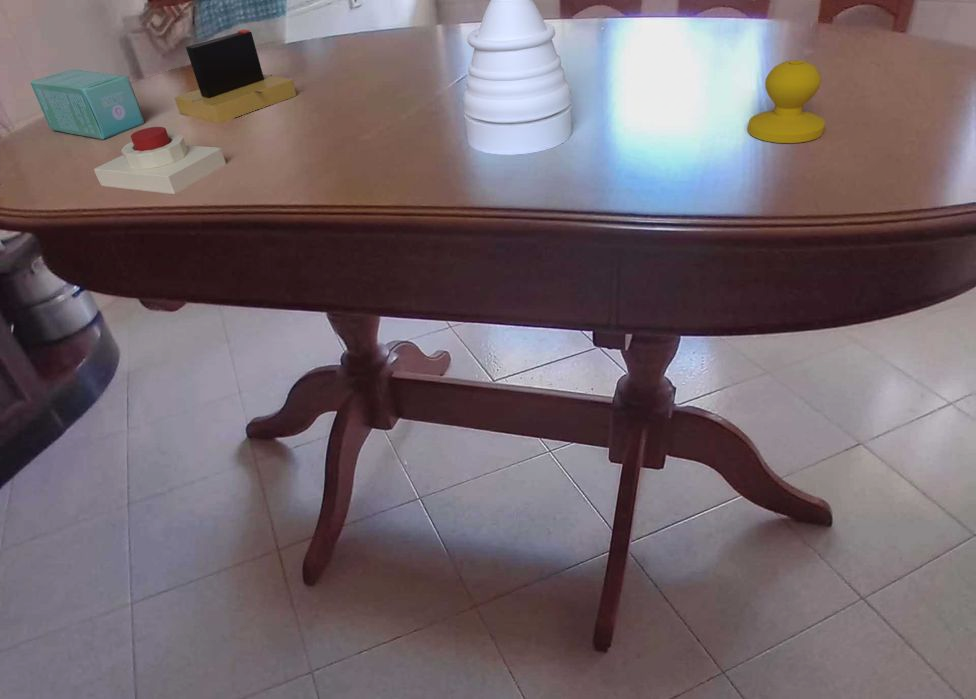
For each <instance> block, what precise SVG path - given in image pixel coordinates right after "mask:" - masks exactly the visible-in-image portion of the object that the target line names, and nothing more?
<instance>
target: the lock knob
mask: <svg viewBox="0 0 976 699" xmlns="http://www.w3.org/2000/svg"><path fill="white" fill-rule="evenodd" d="M253 36H254V35H253V32H252V31H250V30H249V29H239V30H237V32H234V33H231V34H228V35H224V36H221V37H216V38H214V39H210V40H207V41H203V42H199V43H196V44H192V45H188V46H185V49H186V52H187V56H188V59H189V61H190V64H191V68H192V71H193V74H194V77H195V81H196V83H197V86H198V90H199V89H200V92H201V95H202V97H207V98H211V97H214V96H217V95H220V94H223V93H226V92H229V91H232V90H235V89H237V88H240V87H243V86H246V85H249V84H252V83H255V82H258V81H261V80H264V77H263V75H264V73H263V69H262V66H261V62H260V58H259V55H258V52H257V47H256V44H255V40H254V37H253Z"/></svg>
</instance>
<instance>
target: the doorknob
mask: <svg viewBox="0 0 976 699" xmlns="http://www.w3.org/2000/svg"><path fill="white" fill-rule="evenodd" d="M821 84H822V76H821V74H820V71H819V69H818V68H817V67H816V66H815V65H814V64H812V63H810V62H808V61H805V60H801V59H800V60H798V59H795V60H786V61H784V62H781V63H779V64H777V65H775V66H774V67H773V68H771V70H770V72H768V74H767V76H766V78H765V82H764V85H765V90H766V93H767V95H768V97H769V99H770V100H771V101H772V103H773V104H774V109H771V110H767V111H763V112H759V113H756V114H754V115H753V116H751V117H750V118H749V120H748V123H747V124H748V125H747V132H748V134H749V135H751V136H752V137H753V138H755V139H758V140H761V141H764V142H768V143H774V144H775V143H777V144H800V143H806V142H810V141H814V140H816V139H819V138H821V136H823V134H824V132H825V128H826V121H825V119H824V118H823V117H821V116H819V115H817V114H816V113H812V112H810V111H806V110H804V105H806V104H807V103H808V102H809V101H810V100H811V99H812V98H813V97H814V96H815V95H816V93H817V92H818V91H819V89H820V87H821Z"/></svg>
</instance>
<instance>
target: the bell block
mask: <svg viewBox="0 0 976 699" xmlns="http://www.w3.org/2000/svg"><path fill="white" fill-rule="evenodd" d="M167 134H168V136H169V139H170V142H171V143H169V144H167V145H165V146H163V147H160V148H157V149H153V150H147V151H136V149H135V147H134V144H133V142H132V141H131V142H128V143H126V144H125V145H124V147H122V149H121V150H120V151H121V154H122V155H120V156H118V157H116V158H113V159H111V160H109V161H107V162H105V163H103V164H101V165H98V166H97V167H95V168H93V171H94V174H95V175H96V178H97V181H98V182H99V185H100V186H101V187H108V188H109V187H110V188H118V189H124V190H125V189H126V190H134V191H135V190H136V191H144V192H151V193H161V194H168V195H169V194H170V195H171V194H172V195H176V194H178V193H179V192H181V191H182V190H185V189H186V188H189V187H190V186H192V185H193V184H195V183H197V182H198V181H200V180H202V179H204V178H205V177H207V176H209V175H211V174H212V173H214V172H216V171H218V170H220V169H222V168H223V167H225V166H226V165H227V162H226V159H225V156H224V153H223V149H222V148H221V147H214V146H203V145H202V146H201V145H189V144H188V145H187V144H186V142H185V139H184V137H183V136H182V135H181V134H179V133H169V132H167Z"/></svg>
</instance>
